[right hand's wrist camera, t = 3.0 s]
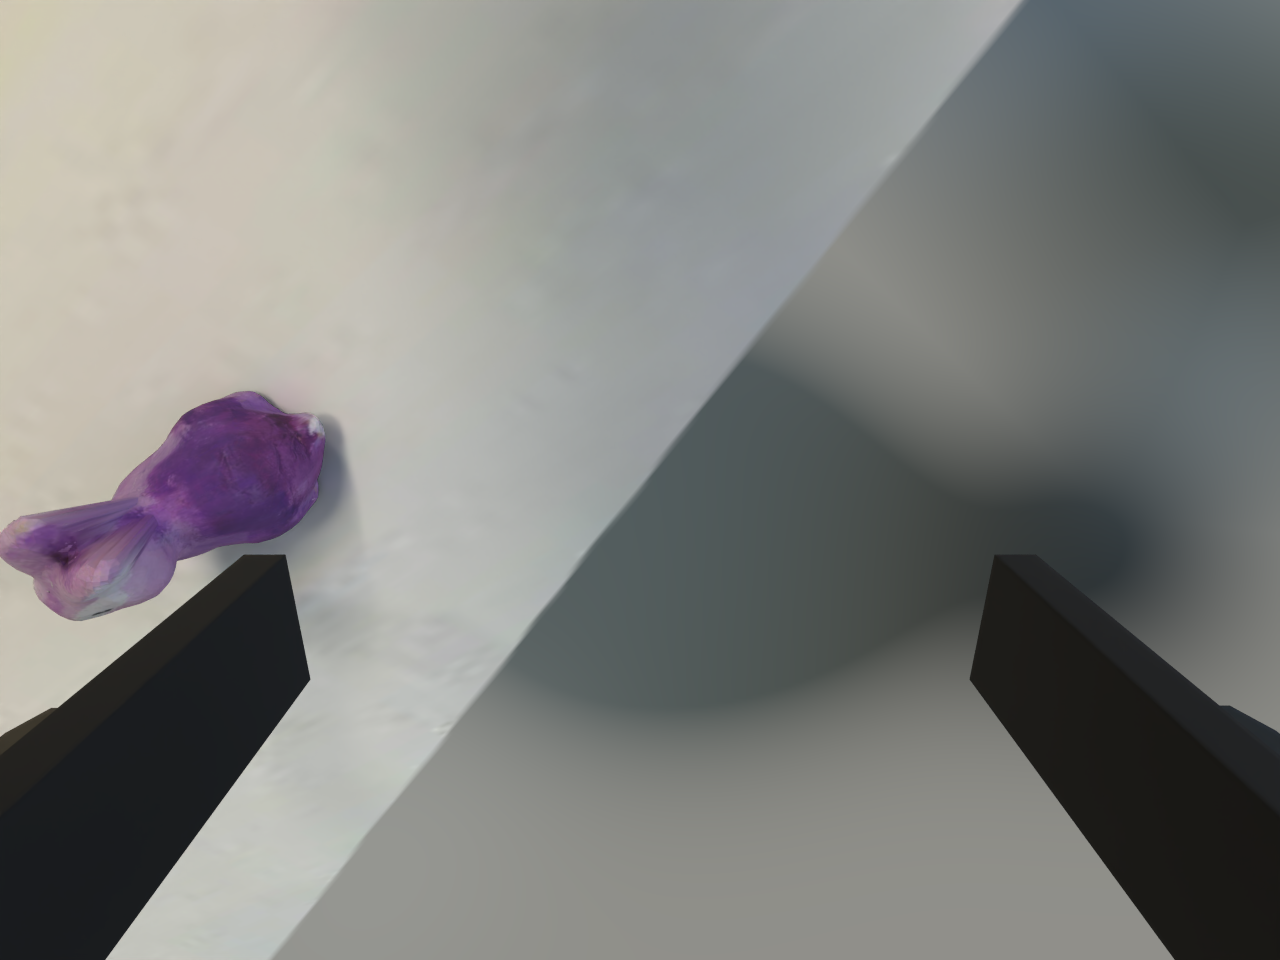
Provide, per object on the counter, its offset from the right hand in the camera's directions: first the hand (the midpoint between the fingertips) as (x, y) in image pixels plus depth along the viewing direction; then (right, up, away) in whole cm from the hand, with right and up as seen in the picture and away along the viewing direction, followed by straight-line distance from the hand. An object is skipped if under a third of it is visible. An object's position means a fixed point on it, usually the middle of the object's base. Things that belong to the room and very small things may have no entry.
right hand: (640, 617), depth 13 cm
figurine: (-23, +3, +29) cm, 37 cm away
